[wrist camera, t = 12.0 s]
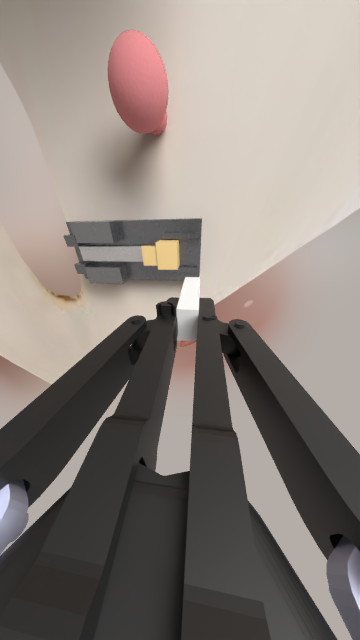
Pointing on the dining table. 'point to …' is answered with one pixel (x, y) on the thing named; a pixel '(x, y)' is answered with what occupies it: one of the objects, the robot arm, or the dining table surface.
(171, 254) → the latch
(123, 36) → the light bulb
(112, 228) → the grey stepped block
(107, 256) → the light grey flat bar
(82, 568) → the robot arm
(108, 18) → the dining table surface
